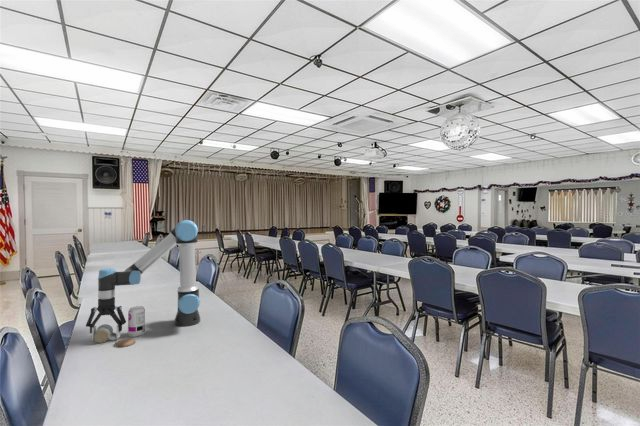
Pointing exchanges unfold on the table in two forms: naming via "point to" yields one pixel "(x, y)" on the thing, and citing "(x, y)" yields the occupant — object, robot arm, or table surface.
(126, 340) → the walnut coaster
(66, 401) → the table surface
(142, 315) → the supplement can
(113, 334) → the ceramic mug
